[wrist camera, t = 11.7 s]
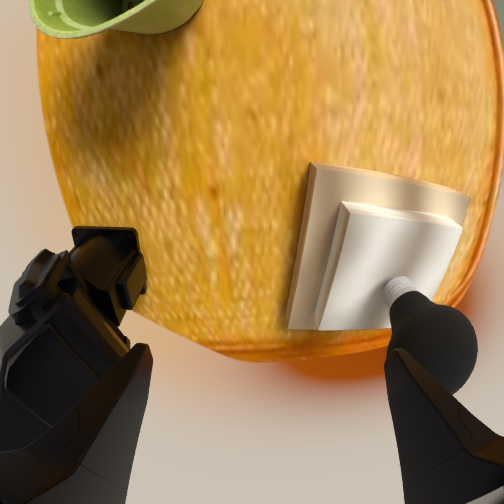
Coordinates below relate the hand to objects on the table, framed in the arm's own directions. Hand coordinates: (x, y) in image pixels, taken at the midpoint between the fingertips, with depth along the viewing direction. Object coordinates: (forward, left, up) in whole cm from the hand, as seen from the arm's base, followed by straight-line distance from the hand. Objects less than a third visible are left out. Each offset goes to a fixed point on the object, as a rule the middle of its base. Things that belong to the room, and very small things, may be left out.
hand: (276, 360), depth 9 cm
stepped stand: (+10, -3, -13) cm, 17 cm away
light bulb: (+10, -3, -9) cm, 14 cm away
